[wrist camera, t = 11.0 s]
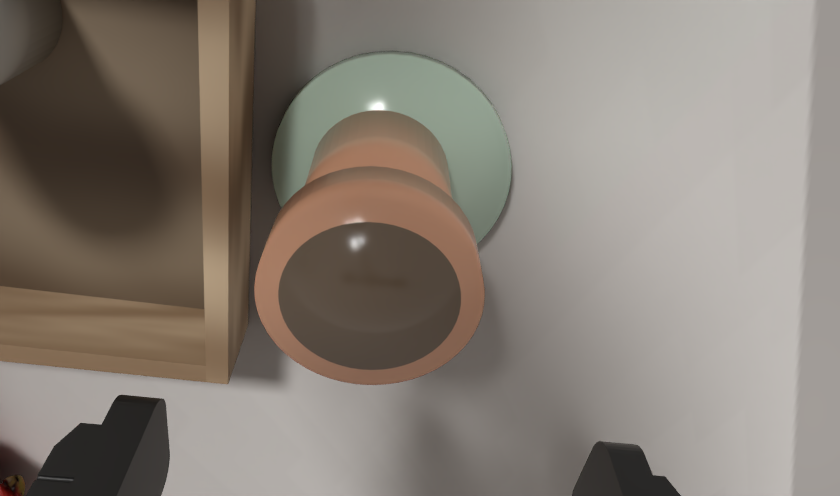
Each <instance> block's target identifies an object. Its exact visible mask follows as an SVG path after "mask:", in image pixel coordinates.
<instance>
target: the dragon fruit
mask: <svg viewBox="0 0 840 496" xmlns="http://www.w3.org/2000/svg"><path fill="white" fill-rule="evenodd" d="M24 492H25V482H24V479H23V477H22V476H20V475H14V476H9V477H7V478H5V479H4V480H3V483H2V484H0V496H24ZM21 494H22V495H21Z"/></svg>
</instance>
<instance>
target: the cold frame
mask: <svg viewBox="0 0 840 496" xmlns="http://www.w3.org/2000/svg"><path fill="white" fill-rule="evenodd" d="M60 3H61V8H62V30H61V34H60V38H59V40H58V43H57V45H56V46H55V48H54V50H53V51H52V52H51V53H50V55H49V56H48V57H47V58H45V59H44V60H43V61H41V62H40V63H38V64H36V65H35V66H33V67H31V68H29V69H28V70H26V71H24V72H22V73H21V74H19V75H17V76H15V77H14V78H12V79H10V80H8V81H7V82H5V83H3V84H1V85H0V361H7V362H16V363H26V364H36V365H46V366H55V367H65V368H75V369H84V370H94V371H104V372H114V373H123V374H133V375H143V376H152V377H162V378H172V379H182V380H191V381H201V382H211V383H221V384H228V383H229V380H230V377H231V374H232V371H233V368H234V365H235V362H236V359H237V356H238V353H239V350H240V347H241V344H242V341H243V338H244V335H245V332H246V329H247V326H248V306H249V264H250V221H251V179H252V136H253V93H254V51H255V8H256V0H60Z"/></svg>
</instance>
